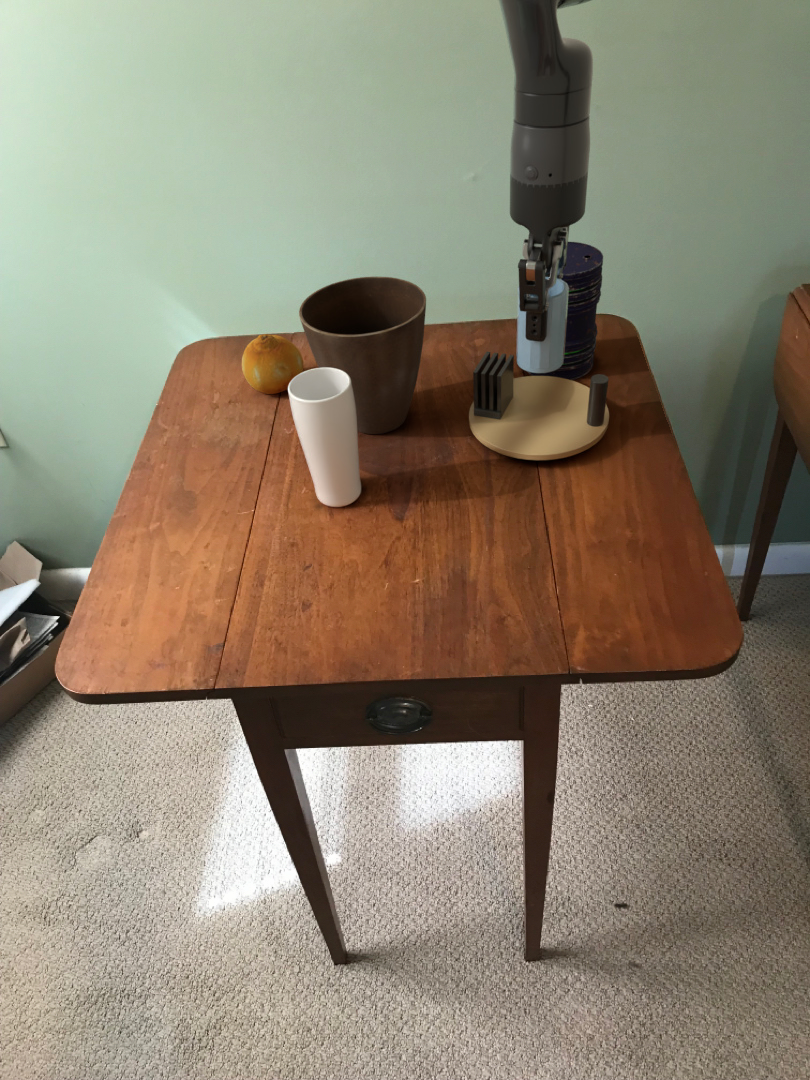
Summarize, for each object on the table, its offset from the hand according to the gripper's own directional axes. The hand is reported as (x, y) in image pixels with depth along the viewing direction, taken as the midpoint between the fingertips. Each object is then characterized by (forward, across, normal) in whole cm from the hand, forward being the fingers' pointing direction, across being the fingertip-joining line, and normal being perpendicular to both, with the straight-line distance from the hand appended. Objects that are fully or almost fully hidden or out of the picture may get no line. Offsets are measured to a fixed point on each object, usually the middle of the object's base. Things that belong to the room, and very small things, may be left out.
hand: (542, 325), depth 86 cm
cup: (+4, 0, 0) cm, 4 cm away
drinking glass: (+14, -18, +19) cm, 30 cm away
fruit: (+14, +2, +38) cm, 40 cm away
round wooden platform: (+13, 0, 0) cm, 13 cm away
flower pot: (+14, -3, +21) cm, 25 cm away
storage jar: (+14, +16, +1) cm, 21 cm away
